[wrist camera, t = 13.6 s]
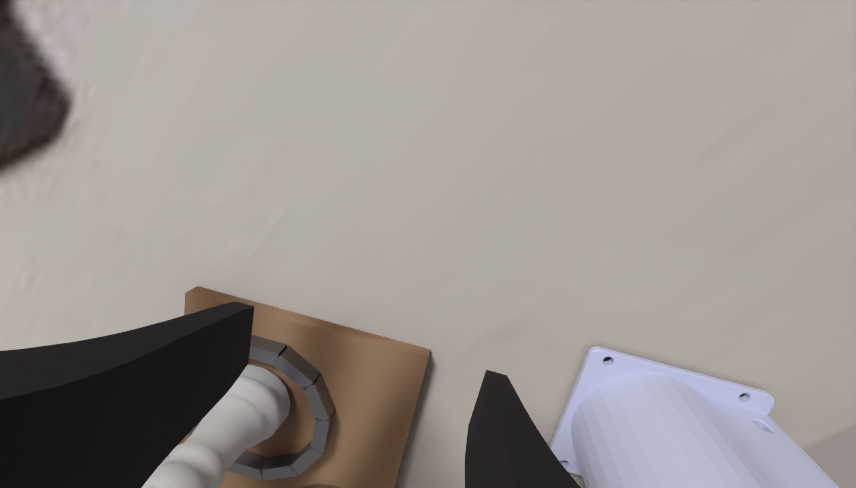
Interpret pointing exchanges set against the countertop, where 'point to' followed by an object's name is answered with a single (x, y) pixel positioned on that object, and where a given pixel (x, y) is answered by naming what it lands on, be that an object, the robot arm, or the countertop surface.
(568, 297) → the countertop surface
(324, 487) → the silver metal dome
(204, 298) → the carrier board
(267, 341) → the socket ring
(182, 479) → the rook chess piece
